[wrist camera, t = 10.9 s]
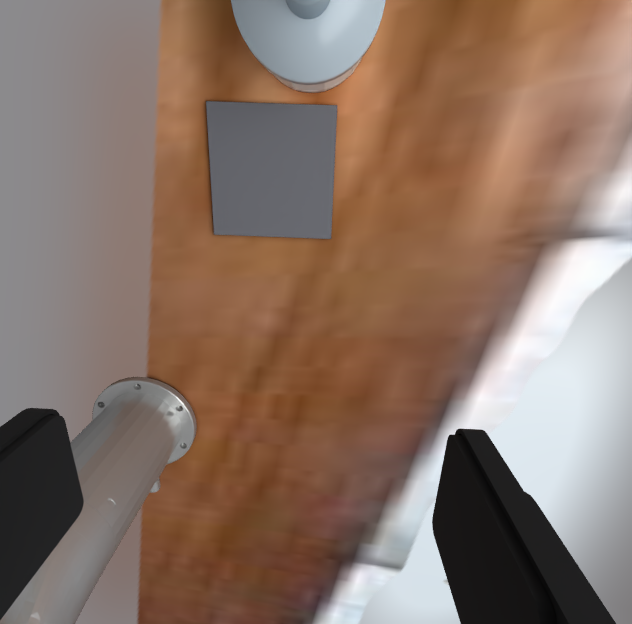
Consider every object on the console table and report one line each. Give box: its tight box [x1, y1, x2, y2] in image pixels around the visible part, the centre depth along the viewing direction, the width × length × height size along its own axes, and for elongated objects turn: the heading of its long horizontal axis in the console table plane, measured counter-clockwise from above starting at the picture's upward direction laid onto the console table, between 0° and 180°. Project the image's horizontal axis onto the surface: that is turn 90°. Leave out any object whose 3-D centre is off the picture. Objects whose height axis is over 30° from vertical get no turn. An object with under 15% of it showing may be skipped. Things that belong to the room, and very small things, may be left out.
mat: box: [206, 101, 337, 239], centre depth 35 cm, size 12×12×1 cm
